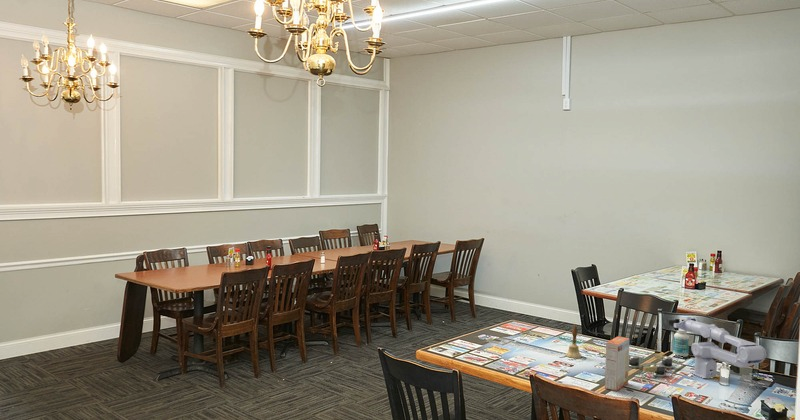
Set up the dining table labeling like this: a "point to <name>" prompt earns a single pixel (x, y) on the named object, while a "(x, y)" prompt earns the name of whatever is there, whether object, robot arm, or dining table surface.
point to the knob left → (655, 369)
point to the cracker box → (617, 363)
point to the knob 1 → (634, 360)
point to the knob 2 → (664, 359)
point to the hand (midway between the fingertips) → (675, 321)
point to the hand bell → (573, 346)
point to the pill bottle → (681, 343)
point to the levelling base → (651, 365)
